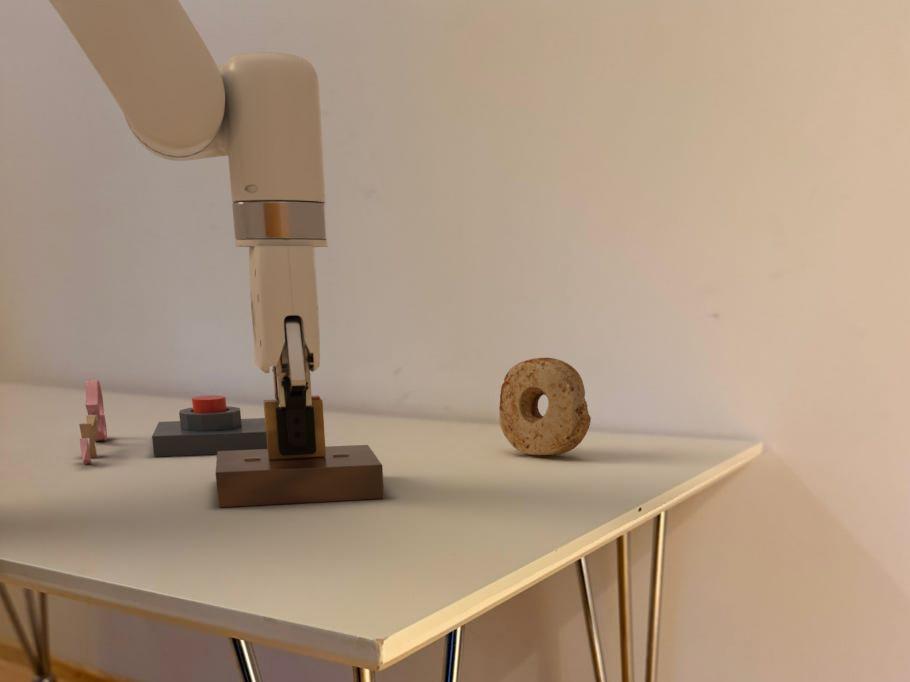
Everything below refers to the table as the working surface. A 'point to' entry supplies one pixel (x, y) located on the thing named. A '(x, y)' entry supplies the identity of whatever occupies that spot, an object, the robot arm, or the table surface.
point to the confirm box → (208, 433)
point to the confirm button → (209, 404)
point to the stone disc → (563, 414)
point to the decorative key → (93, 421)
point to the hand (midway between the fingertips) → (296, 450)
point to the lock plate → (298, 477)
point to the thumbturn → (273, 433)
